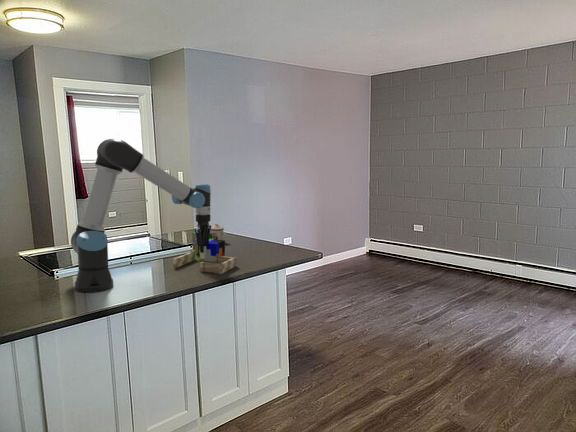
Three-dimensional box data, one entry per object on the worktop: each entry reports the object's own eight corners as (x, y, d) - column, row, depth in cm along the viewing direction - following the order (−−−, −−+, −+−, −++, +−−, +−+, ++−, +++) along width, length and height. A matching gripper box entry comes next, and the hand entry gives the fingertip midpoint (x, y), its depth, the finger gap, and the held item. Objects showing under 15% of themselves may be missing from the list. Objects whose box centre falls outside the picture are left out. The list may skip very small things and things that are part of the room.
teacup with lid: (206, 241, 274) (206, 224, 272) (215, 239, 282) (215, 222, 280) (221, 244, 268) (221, 226, 267) (230, 242, 276) (230, 224, 274)
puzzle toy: (216, 262, 228) (216, 244, 227) (199, 260, 232) (199, 242, 230) (224, 258, 238) (224, 240, 236) (208, 255, 241) (208, 238, 239)
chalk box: (206, 249, 255) (206, 225, 252) (213, 253, 247) (213, 228, 245) (191, 251, 250) (191, 226, 247) (197, 255, 242) (197, 229, 240)
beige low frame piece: (220, 274, 208) (220, 264, 207) (173, 267, 217) (172, 257, 216) (237, 265, 224) (237, 256, 224) (192, 259, 234) (192, 250, 233)
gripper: (202, 216, 215) (202, 262, 219) (215, 212, 227) (215, 256, 231) (189, 215, 218) (190, 260, 222) (203, 211, 230) (203, 254, 234)
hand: (203, 258), depth 227 cm, fingers closed
